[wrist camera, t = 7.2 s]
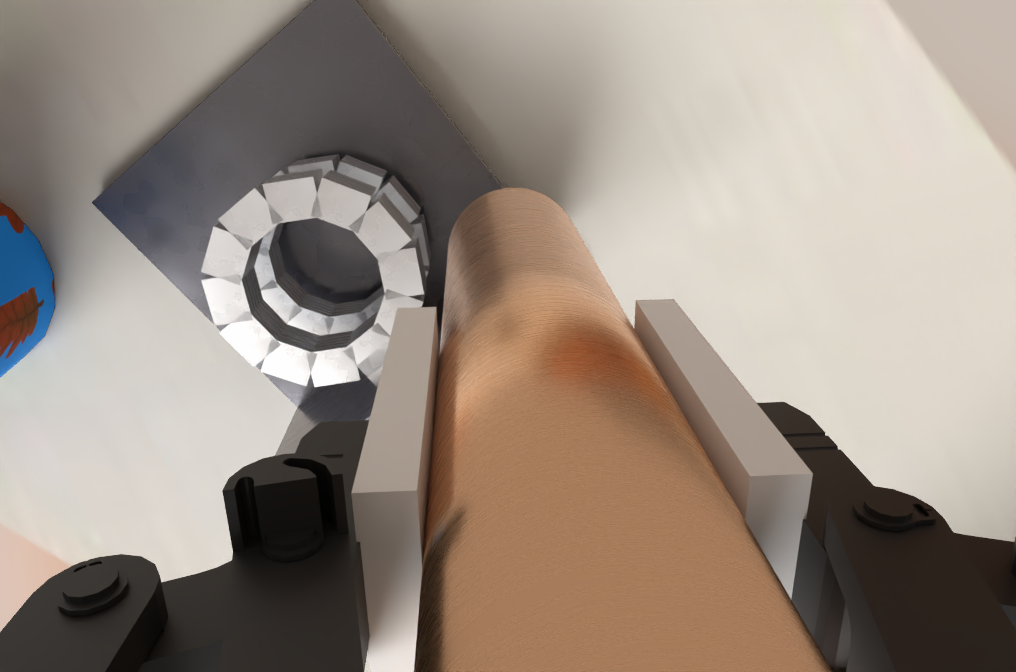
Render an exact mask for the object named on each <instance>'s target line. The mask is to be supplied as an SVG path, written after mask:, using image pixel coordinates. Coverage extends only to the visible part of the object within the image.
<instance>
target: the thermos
mask: <svg viewBox="0 0 1016 672" xmlns="http://www.w3.org/2000/svg"><path fill="white" fill-rule="evenodd" d="M54 309H55V296H54V278H53V272H52V270H51V268H50V265H49V263H48V261H47V259H46V256H45V254H44V252H43V249H42V247H41V245H40V242H39V240H38V239H37V238H36V237H35V236H34V234H33V233H32V232H31V231H30V230H29V229H28V228H27V226H26V225H25V224H24V223H23V222H22V221H21V219H20V218H19V217H18V216H17V215H16V214H15V213H14V211H13V210H12V209H10V208H8V207H7V206H5V205H4V204H2V203H1V202H0V377H1V376H2V375H4V374H5V373H6V372H7V371H8V370H9V369H11V368H12V367H13V366H14V365H15V364H17V363H18V362H19V361H20V360H21V359H22V358H23V357H24V356H25V355H26V354H27V353H28V352H29V351H30V350H31V349H32V348H33V347H34V346H35V345H36V344H37V343H38V342H39V341H40V340H41V339H42V338H43V337H44V336H45V334H46V331H47V328H48V326H49V323H50V320H51V317H52V315H53V312H54Z"/></svg>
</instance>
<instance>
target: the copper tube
mask: <svg viewBox="0 0 1016 672" xmlns="http://www.w3.org/2000/svg"><path fill="white" fill-rule="evenodd" d="M414 672H833V671H832V669H831V667H830V666H829V664H828V662H827V661H826V659H825V657H824V655H823V654H822V652H821V650H820V648H819V647H818V645H817V643H816V642H815V640H814V638H813V636H812V635H811V633H810V631H809V629H808V628H807V626H806V624H805V623H804V621H803V619H802V617H801V616H800V614H799V612H798V611H797V609H796V607H795V605H794V604H793V602H792V600H791V598H790V597H789V595H788V593H787V592H786V590H785V588H784V586H783V585H782V583H781V581H780V580H779V578H778V576H777V574H776V573H775V571H774V569H773V567H772V566H771V564H770V562H769V561H768V559H767V557H766V555H765V554H764V552H763V550H762V549H761V547H760V545H759V543H758V542H757V540H756V538H755V536H754V535H753V533H752V531H751V530H750V528H749V526H748V524H747V523H746V521H745V519H744V518H743V516H742V514H741V512H740V511H739V509H738V507H737V505H736V504H735V502H734V500H733V499H732V497H731V495H730V493H729V492H728V490H727V488H726V487H725V485H724V483H723V481H722V480H721V478H720V476H719V474H718V473H717V471H716V469H715V468H714V466H713V464H712V462H711V461H710V459H709V457H708V455H707V454H706V452H705V450H704V449H703V447H702V445H701V443H700V442H699V440H698V438H697V437H696V435H695V433H694V431H693V430H692V428H691V426H690V424H689V423H688V421H687V419H686V418H685V416H684V414H683V412H682V411H681V409H680V407H679V406H678V404H677V402H676V400H675V399H674V397H673V395H672V393H671V392H670V390H669V388H668V387H667V385H666V383H665V381H664V380H663V378H662V376H661V375H660V373H659V371H658V369H657V368H656V366H655V364H654V362H653V361H652V359H651V357H650V356H649V354H648V352H647V350H646V349H645V347H644V345H643V344H642V342H641V340H640V338H639V337H638V335H637V333H636V331H635V330H634V328H633V326H632V325H631V323H630V321H629V319H628V318H627V316H626V314H625V313H624V311H623V309H622V307H621V306H620V304H619V302H618V300H617V299H616V297H615V295H614V294H613V292H612V290H611V288H610V287H609V285H608V283H607V281H606V280H605V278H604V276H603V275H602V273H601V271H600V269H599V268H598V266H597V264H596V263H595V261H594V259H593V257H592V256H591V254H590V252H589V250H588V249H587V247H586V245H585V244H584V242H583V240H582V238H581V237H580V235H579V233H578V232H577V230H576V228H575V226H574V225H573V223H572V221H571V219H570V218H569V216H568V215H567V213H566V212H565V211H564V210H563V209H562V208H561V206H559V205H558V204H557V203H556V202H555V201H554V200H552V199H551V198H549V197H548V196H546V195H544V194H542V193H539V192H537V191H534V190H530V189H525V188H503V189H499V190H495V191H492V192H489V193H487V194H485V195H483V196H481V197H479V198H478V199H476V200H475V201H473V202H472V203H471V204H470V205H469V206H468V207H467V208H466V209H465V210H464V211H463V212H462V213H461V215H460V216H459V218H458V219H457V221H456V222H455V225H454V227H453V229H452V232H451V235H450V238H449V245H448V255H447V268H446V280H445V292H444V305H443V317H442V330H441V342H440V354H439V367H438V379H437V391H436V404H435V416H434V429H433V441H432V453H431V466H430V478H429V491H428V503H427V515H426V528H425V540H424V552H423V565H422V577H421V590H420V602H419V614H418V627H417V639H416V652H415V664H414Z"/></svg>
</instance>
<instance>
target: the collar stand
mask: <svg viewBox="0 0 1016 672" xmlns="http://www.w3.org/2000/svg"><path fill="white" fill-rule="evenodd" d="M503 188H504V187H503V186H502V184H501V183H500V182H499V181H498V179H497V178H496V177H495V175H494V174H493V173H492V172H491V170H490V169H489V168H488V167H487V165H486V164H485V163H484V162H483V160H482V159H481V158H480V156H479V155H478V154H477V153H476V151H475V150H474V149H473V148H472V146H471V145H470V144H469V142H468V141H467V140H466V139H465V137H464V136H463V135H462V134H461V132H460V131H459V130H458V129H457V127H456V126H455V125H454V123H453V122H452V121H451V120H450V118H449V117H448V116H447V115H446V113H445V112H444V111H443V110H442V108H441V107H440V106H439V104H438V103H437V102H436V101H435V99H434V98H433V97H432V96H431V94H430V93H429V92H428V90H427V89H426V88H425V87H424V85H423V84H422V83H421V82H420V80H419V79H418V78H417V77H416V75H415V74H414V73H413V71H412V70H411V69H410V68H409V66H408V65H407V64H406V63H405V61H404V60H403V59H402V58H401V56H400V55H399V54H398V52H397V51H396V50H395V49H394V47H393V46H392V45H391V44H390V42H389V41H388V40H387V39H386V37H385V36H384V35H383V33H382V32H381V31H380V30H379V28H378V27H377V26H376V25H375V23H374V22H373V21H372V19H371V18H370V17H369V16H368V14H367V13H366V12H365V11H364V9H363V8H362V7H361V6H360V4H359V3H358V2H357V0H315V1H313V2H312V3H311V4H310V5H309V6H308V7H307V8H306V9H305V10H303V11H302V12H301V13H300V14H299V15H298V16H297V17H296V18H295V19H294V20H292V21H291V22H290V23H289V24H288V25H287V26H286V27H285V28H284V29H283V30H281V31H280V32H279V33H278V34H277V35H276V36H275V37H274V38H273V39H271V40H270V41H269V42H268V43H267V44H266V45H265V46H264V47H263V48H262V49H260V50H259V51H258V52H257V53H256V54H255V55H254V56H253V57H252V58H251V59H249V60H248V61H247V62H246V63H245V64H244V65H243V66H242V67H241V68H239V69H238V70H237V71H236V72H235V73H234V74H233V75H232V76H231V77H230V78H228V79H227V80H226V81H225V82H224V83H223V84H222V85H221V86H220V87H219V88H217V89H216V90H215V91H214V92H213V93H212V94H211V95H210V96H209V97H207V98H206V99H205V100H204V101H203V102H202V103H201V104H200V105H199V106H198V107H196V108H195V109H194V110H193V111H192V112H191V113H190V114H189V115H188V116H187V117H185V118H184V119H183V120H182V121H181V122H180V123H179V124H178V125H177V126H175V127H174V128H173V129H172V130H171V131H170V132H169V133H168V134H167V135H166V136H164V137H163V138H162V139H161V140H160V141H159V142H158V143H157V144H156V145H155V146H153V147H152V148H151V149H150V150H149V151H148V152H147V153H146V154H145V155H143V156H142V157H141V158H140V159H139V160H138V161H137V162H136V163H135V164H134V165H132V166H131V167H130V168H129V169H128V170H127V171H126V172H125V173H124V174H123V175H121V176H120V177H119V178H118V179H117V180H116V181H115V182H114V183H113V184H111V185H110V186H109V187H108V188H107V189H106V190H105V191H104V192H103V193H102V194H100V195H99V196H98V197H97V198H96V199H95V200H94V201H93V202H92V203H93V204H94V205H95V206H96V207H97V208H98V209H99V210H100V211H101V212H102V213H103V214H104V215H105V216H106V217H107V218H108V219H109V220H110V221H111V222H112V223H113V224H114V225H115V226H116V227H117V228H118V229H119V230H120V231H121V232H122V233H123V234H124V235H125V236H126V237H127V238H128V239H129V240H130V241H131V242H132V243H133V244H134V245H135V246H136V247H137V248H138V249H139V250H140V251H141V252H142V253H143V254H144V255H145V256H146V257H147V258H148V259H149V260H150V261H151V262H152V263H153V264H154V265H155V266H156V267H157V268H158V269H159V270H160V271H161V272H162V273H163V274H164V275H165V276H166V277H167V278H168V279H169V280H170V281H171V282H172V283H173V284H174V285H175V286H176V287H177V288H178V289H179V290H180V291H181V292H182V293H183V294H184V295H185V296H186V297H187V298H188V299H189V300H190V301H191V302H192V303H193V304H194V305H195V306H196V307H197V308H198V309H199V310H200V311H201V312H202V313H203V314H204V315H205V316H206V317H207V318H208V319H209V320H210V321H211V322H212V323H213V324H214V325H215V326H216V327H217V328H218V329H219V330H220V332H219V333H220V334H221V335H222V336H223V337H224V338H225V339H226V340H227V341H228V342H229V343H230V344H231V345H232V346H233V347H234V348H235V349H236V350H237V351H238V352H239V353H240V354H241V355H242V356H243V357H244V358H245V359H246V360H247V361H248V362H249V363H250V364H251V365H252V366H253V367H254V366H256V367H257V368H258V369H259V370H260V371H261V372H262V373H263V374H265V375H266V376H267V377H268V378H269V379H270V380H271V381H272V382H273V383H274V384H275V385H276V386H277V387H278V388H279V389H280V390H281V391H282V392H283V393H284V394H285V395H286V396H287V397H288V398H289V399H290V400H291V401H292V402H293V403H294V404H295V405H296V406H297V407H298V408H297V410H296V412H295V414H294V416H293V418H292V421H291V423H290V425H289V427H288V429H287V431H286V433H285V436H284V438H283V440H282V442H281V444H280V446H279V448H278V451H277V453H276V455H275V456H277V455H281V454H292V453H295V452H296V450H297V447H298V445H299V442H300V440H301V438H302V437H303V436H304V435H306V434H307V433H308V432H309V431H310V430H312V429H313V428H314V427H315V426H316V425H318V424H319V423H320V422H335V421H361V420H370V416H371V412H372V408H373V404H374V400H375V396H376V392H377V388H378V384H379V380H380V376H381V372H382V368H383V364H384V360H385V356H386V352H387V348H388V344H389V340H390V336H391V332H392V328H393V323H394V319H395V315H396V311H397V308H417V307H436V312H437V331H438V350H439V354H440V342H441V330H442V317H443V305H444V292H445V280H446V268H447V255H448V245H449V238H450V235H451V232H452V229H453V227H454V225H455V222H456V221H457V219H458V218H459V216H460V215H461V213H462V212H463V211H464V210H465V209H466V208H467V207H468V206H469V205H470V204H471V203H472V202H473V201H475V200H476V199H478V198H479V197H481V196H483V195H485V194H487V193H489V192H492V191H495V190H499V189H503Z"/></svg>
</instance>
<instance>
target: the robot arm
mask: <svg viewBox="0 0 1016 672" xmlns="http://www.w3.org/2000/svg"><path fill="white" fill-rule="evenodd" d="M634 330H635V331H636V333H637V335H638V337H639V338H640V340H641V342H642V344H643V345H644V347H645V349H646V350H647V352H648V354H649V356H650V357H651V359H652V361H653V362H654V364H655V366H656V368H657V369H658V371H659V373H660V375H661V376H662V378H663V380H664V381H665V383H666V385H667V387H668V388H669V390H670V392H671V393H672V395H673V397H674V399H675V400H676V402H677V404H678V406H679V407H680V409H681V411H682V412H683V414H684V416H685V418H686V419H687V421H688V423H689V424H690V426H691V428H692V430H693V431H694V433H695V435H696V437H697V438H698V440H699V442H700V443H701V445H702V447H703V449H704V450H705V452H706V454H707V455H708V457H709V459H710V461H711V462H712V464H713V466H714V468H715V469H716V471H717V473H718V474H719V476H720V478H721V480H722V481H723V483H724V485H725V487H726V488H727V490H728V492H729V493H730V495H731V497H732V499H733V500H734V502H735V504H736V505H737V507H738V509H739V511H740V512H741V514H742V516H743V518H744V519H745V521H746V523H747V524H748V526H749V528H750V530H751V531H752V533H753V535H754V536H755V538H756V540H757V542H758V543H759V545H760V547H761V549H762V550H763V552H764V554H765V555H766V557H767V559H768V561H769V562H770V564H771V566H772V567H773V569H774V571H775V573H776V574H777V576H778V578H779V580H780V581H781V583H782V585H783V586H784V588H785V590H786V592H787V593H788V595H789V597H790V598H791V600H792V602H793V604H794V605H795V607H796V609H797V611H798V612H799V614H800V616H801V617H802V619H803V621H804V623H805V624H806V626H807V628H808V629H809V631H810V633H811V635H812V636H813V638H814V640H815V642H816V643H817V645H818V647H819V648H820V650H821V652H822V654H823V655H824V657H825V659H826V661H827V662H828V664H829V666H830V667H831V669H832V671H833V672H1016V538H1015V542H1010V541H1003V540H996V539H989V538H982V537H975V536H968V535H962V534H957V533H953V531H952V530H951V528H950V527H949V525H948V524H947V522H946V521H945V519H944V518H943V517H942V516H941V515H940V514H939V513H938V512H937V511H936V510H935V509H934V508H933V507H932V506H930V505H928V504H927V503H925V502H923V501H921V500H919V499H918V498H916V497H914V496H911V495H908V494H905V493H902V492H899V491H896V490H893V489H888V488H882V487H875V486H873V485H872V484H871V482H870V481H869V480H868V479H867V478H866V477H865V476H864V475H863V474H862V473H861V471H860V470H859V469H858V468H857V467H856V466H855V465H854V464H853V463H852V462H851V460H850V459H849V458H848V457H847V456H846V455H845V454H844V453H843V452H842V451H841V450H838V448H837V445H836V444H835V443H834V442H833V441H832V440H831V439H830V437H829V436H825V432H824V431H823V430H822V429H821V428H820V426H819V425H818V424H817V423H816V422H815V421H814V420H813V419H812V418H811V417H810V416H809V415H807V414H805V413H804V412H802V411H800V410H798V409H796V408H794V407H793V406H791V405H789V404H787V403H785V402H772V403H756V402H755V400H754V399H753V398H752V397H751V395H750V394H749V393H748V392H747V390H746V389H745V388H744V387H743V385H742V384H741V383H740V382H739V380H738V379H737V378H736V377H735V375H734V374H733V373H732V372H731V370H730V369H729V368H728V367H727V365H726V364H725V363H724V362H723V360H722V359H721V358H720V357H719V355H718V354H717V353H716V352H715V350H714V349H713V348H712V347H711V345H710V344H709V343H708V342H707V340H706V339H705V338H704V337H703V335H702V334H701V333H700V332H699V330H698V329H697V328H696V326H695V325H694V324H693V323H692V321H691V320H690V319H689V318H688V316H687V315H686V314H685V313H684V311H683V310H682V309H681V308H680V306H679V305H678V304H677V303H676V301H675V300H674V299H665V300H636V308H635V329H634ZM438 367H439V350H438V331H437V312H436V307H417V308H397V311H396V315H395V319H394V323H393V328H392V332H391V336H390V340H389V344H388V348H387V352H386V356H385V360H384V364H383V368H382V372H381V376H380V380H379V384H378V388H377V392H376V396H375V400H374V404H373V408H372V412H371V416H370V420H361V421H335V422H320V423H319V424H318V425H316V426H315V427H314V428H313V429H312V430H310V431H309V432H308V433H307V434H306V435H304V436H303V437H302V438H301V440H300V442H299V445H298V447H297V450H296V452H295V453H292V454H281V455H277V456H273V457H268V458H264V459H261V460H259V461H256V462H254V463H252V464H249V465H247V466H245V467H243V468H242V469H240V470H239V471H238V472H236V473H235V474H234V475H233V476H231V477H230V478H229V479H228V481H227V483H226V485H225V487H224V489H223V496H224V502H225V508H226V514H227V519H228V525H229V531H230V536H231V542H232V548H233V558H232V561H230V562H228V563H226V564H224V565H221V566H219V567H217V568H214V569H211V570H208V571H205V572H201V573H198V574H194V575H190V576H186V577H182V578H178V579H174V580H170V581H166V582H162V583H161V579H160V575H159V573H158V571H157V568H156V566H155V564H154V563H152V562H150V561H148V560H147V559H145V558H143V557H141V556H132V555H123V554H120V555H113V556H105V557H98V558H94V559H90V560H88V561H86V562H85V561H84V562H81V563H78V564H76V565H73V566H71V567H70V568H68V569H66V570H64V571H62V572H61V573H59V574H57V575H55V576H53V577H52V578H50V579H48V580H47V581H46V582H45V583H44V584H43V585H42V586H41V587H40V588H38V589H37V590H36V591H35V592H34V593H33V594H32V595H31V596H30V597H29V598H28V600H27V601H26V602H25V603H24V604H23V606H22V607H21V608H20V609H19V611H18V612H17V613H16V614H15V615H14V616H13V618H12V619H11V620H10V621H9V622H8V624H7V625H6V626H5V627H4V628H3V630H2V631H1V632H0V672H364V669H365V663H366V656H367V650H368V658H369V667H370V672H414V664H415V652H416V639H417V627H418V614H419V602H420V590H421V577H422V565H423V552H424V540H425V528H426V515H427V503H428V491H429V478H430V466H431V453H432V441H433V429H434V416H435V404H436V391H437V379H438Z"/></svg>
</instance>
